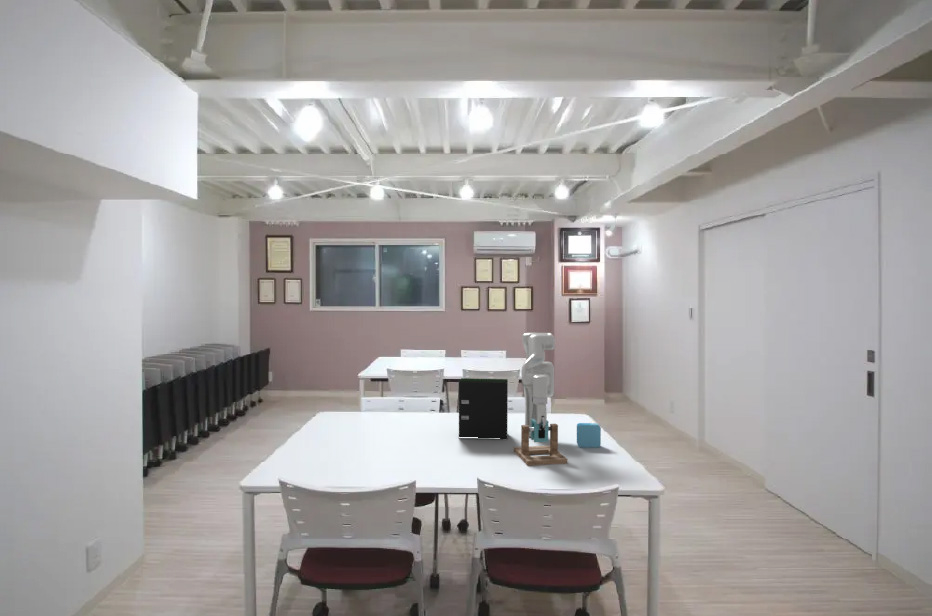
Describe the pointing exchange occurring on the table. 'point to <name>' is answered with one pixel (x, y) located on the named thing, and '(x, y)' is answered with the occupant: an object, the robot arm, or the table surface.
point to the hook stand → (540, 448)
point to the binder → (483, 408)
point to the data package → (588, 435)
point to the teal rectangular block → (535, 433)
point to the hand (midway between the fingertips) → (539, 436)
